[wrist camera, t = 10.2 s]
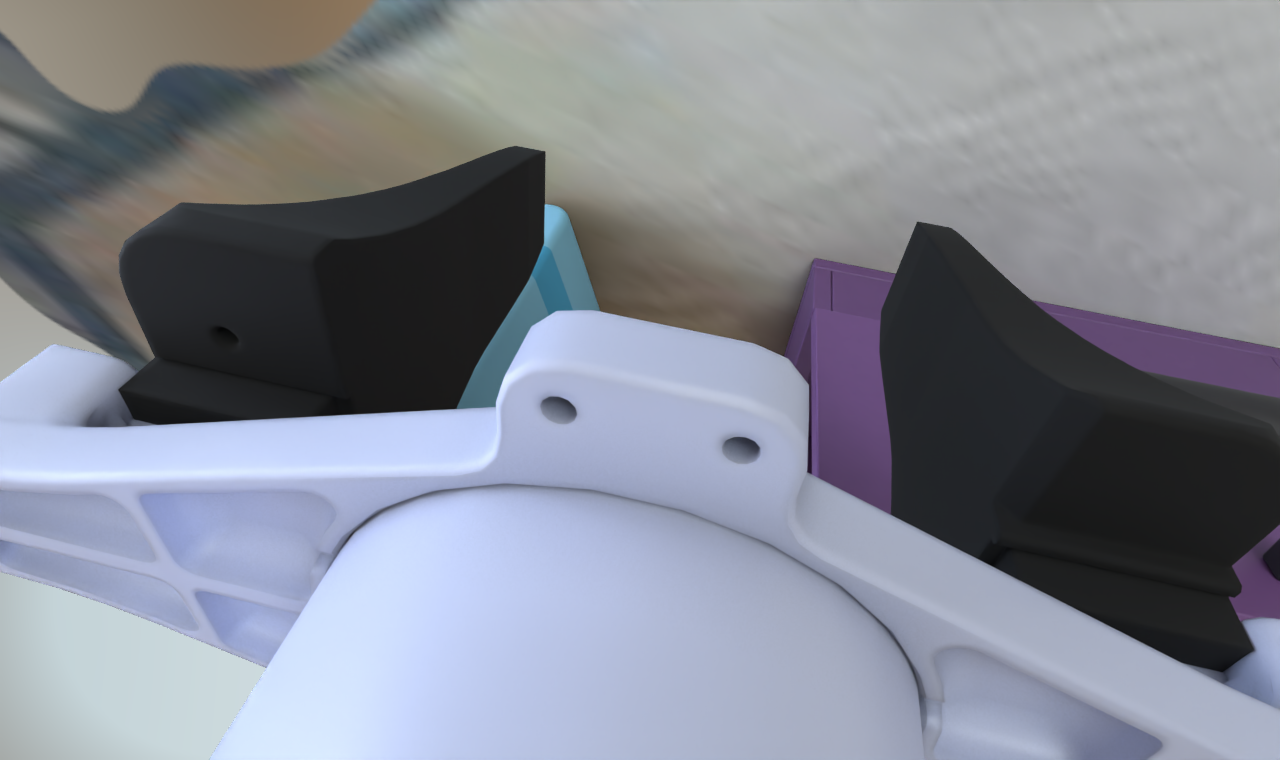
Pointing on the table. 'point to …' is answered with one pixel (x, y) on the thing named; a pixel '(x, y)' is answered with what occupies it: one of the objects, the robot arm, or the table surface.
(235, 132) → the table surface
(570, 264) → the data package
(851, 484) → the cover
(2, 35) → the table surface
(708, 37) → the table surface
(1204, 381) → the purple box
